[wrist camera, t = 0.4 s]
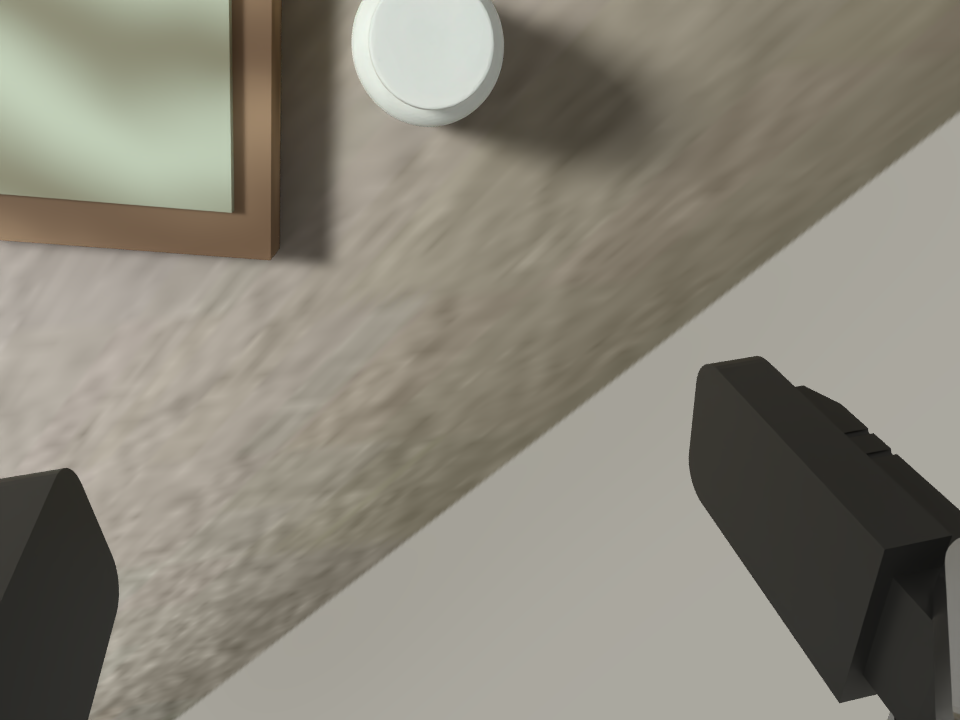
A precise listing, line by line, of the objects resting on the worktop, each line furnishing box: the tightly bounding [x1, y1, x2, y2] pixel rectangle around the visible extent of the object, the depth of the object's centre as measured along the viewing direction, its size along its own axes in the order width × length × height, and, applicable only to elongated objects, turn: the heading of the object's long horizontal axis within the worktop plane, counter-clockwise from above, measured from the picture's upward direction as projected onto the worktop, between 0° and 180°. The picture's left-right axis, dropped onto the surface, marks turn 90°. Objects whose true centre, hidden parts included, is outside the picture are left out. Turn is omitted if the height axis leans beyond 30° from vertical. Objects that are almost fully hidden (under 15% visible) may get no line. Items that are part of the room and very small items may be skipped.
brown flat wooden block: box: [0, 0, 282, 260], centre depth 30 cm, size 18×14×3 cm
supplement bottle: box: [352, 0, 504, 127], centre depth 28 cm, size 5×5×10 cm
